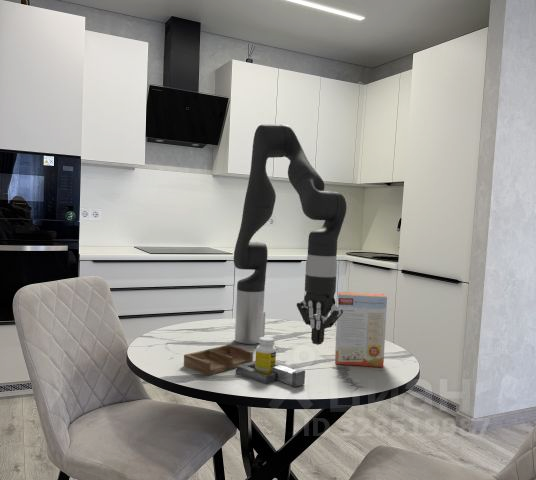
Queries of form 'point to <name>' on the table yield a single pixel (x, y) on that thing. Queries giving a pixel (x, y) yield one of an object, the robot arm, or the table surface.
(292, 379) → the silver rectangular block
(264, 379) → the socket
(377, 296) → the cracker box
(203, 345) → the table surface
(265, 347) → the supplement bottle
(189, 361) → the brown wooden divided tray
